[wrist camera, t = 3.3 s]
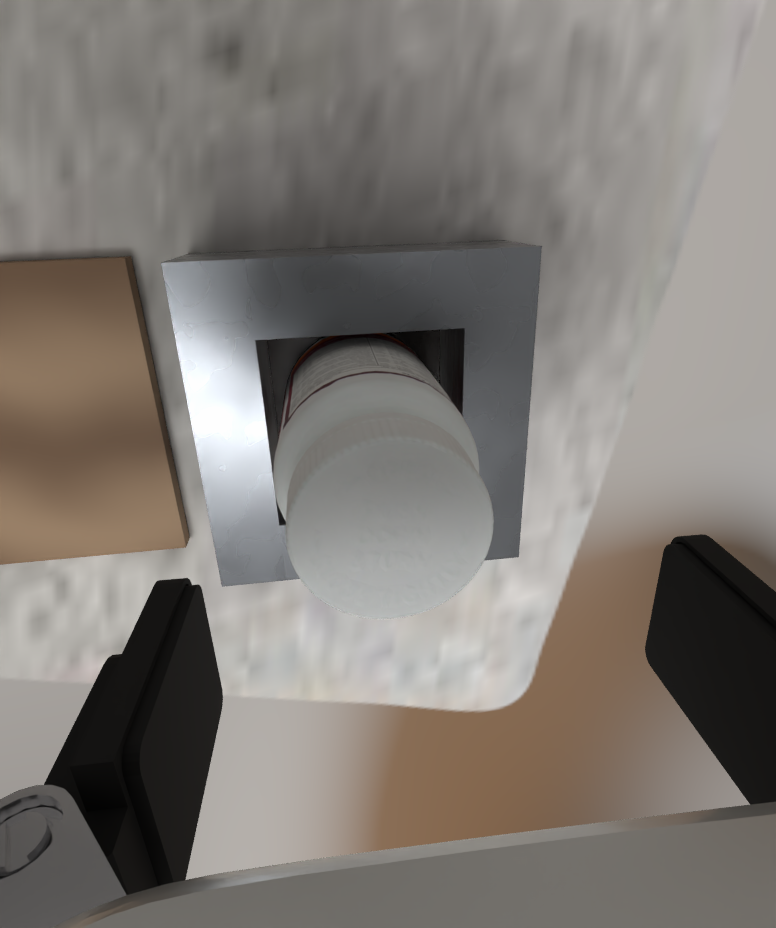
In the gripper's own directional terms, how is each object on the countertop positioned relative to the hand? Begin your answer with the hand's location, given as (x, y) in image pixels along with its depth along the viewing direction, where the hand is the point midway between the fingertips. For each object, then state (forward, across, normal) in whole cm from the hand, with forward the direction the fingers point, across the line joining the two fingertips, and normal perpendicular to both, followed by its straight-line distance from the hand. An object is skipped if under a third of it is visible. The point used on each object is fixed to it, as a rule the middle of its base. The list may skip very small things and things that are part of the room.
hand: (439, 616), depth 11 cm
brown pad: (+14, +15, 0) cm, 20 cm away
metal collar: (+14, +1, 0) cm, 14 cm away
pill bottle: (+14, +1, 0) cm, 14 cm away
